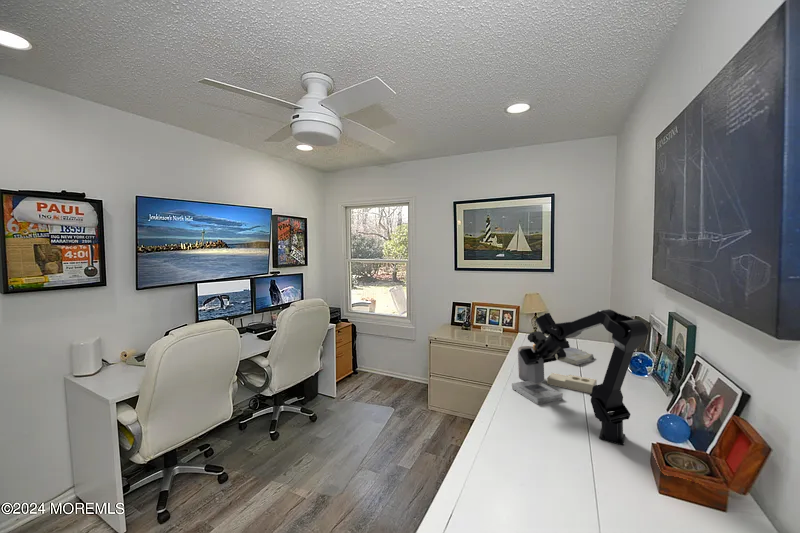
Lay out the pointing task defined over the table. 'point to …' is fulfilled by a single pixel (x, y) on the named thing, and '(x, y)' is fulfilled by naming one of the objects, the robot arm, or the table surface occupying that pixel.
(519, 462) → the table surface
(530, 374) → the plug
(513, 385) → the socket plate
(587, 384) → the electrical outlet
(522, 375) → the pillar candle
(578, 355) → the fossil
